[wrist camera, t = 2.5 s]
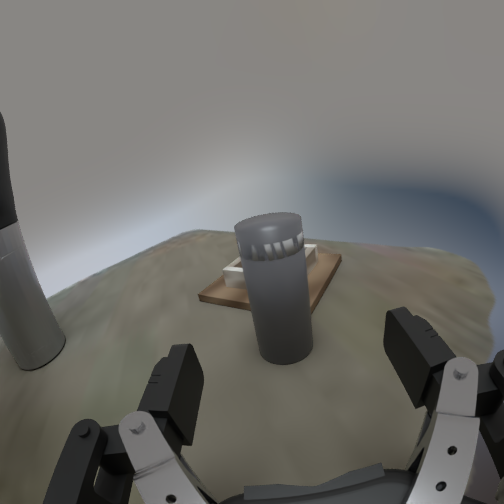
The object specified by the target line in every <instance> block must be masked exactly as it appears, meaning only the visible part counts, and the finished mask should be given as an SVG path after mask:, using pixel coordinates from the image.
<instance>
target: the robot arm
mask: <svg viewBox="0 0 504 504" xmlns="http://www.w3.org/2000/svg"><path fill="white" fill-rule="evenodd" d="M17 221H18V219H17V215H16V210H15V204H14V197H13V192H12V187H11V181H10V174H9V163H8V149H7V137H6V128H5V123H4V119H3V117H2V114H1V112H0V335H1V337H2V339H3V340H4V342H5V344H6V346H7V348H8V349H9V351H10V353H11V354H12V356H13V357H14V359H15V360H16V362H17V364H18V365H19V366H20V367H21V368H22V369H25V370H31V369H35V368H38V367H40V366H42V365H44V364H46V363H47V362H49V361H50V360H52V359H53V358H54V357H55V356H56V355H57V354H58V353H59V352H60V350H61V349H62V347H63V345H64V342H65V337H64V334H63V333H62V331H61V329H60V327H59V325H58V323H57V321H56V319H55V317H54V315H53V313H52V311H51V308H50V306H49V304H48V302H47V300H46V298H45V295H44V293H43V291H42V289H41V286H40V284H39V281H38V279H37V276H36V274H35V271H34V268H33V266H32V263H31V260H30V257H29V255H28V252H27V249H26V246H25V243H24V240H23V236H22V233H21V230H20V226H19V223H18V222H17ZM383 342H384V349H385V352H386V354H387V356H388V358H389V360H390V361H391V363H392V365H393V367H394V369H395V371H396V372H397V374H398V376H399V378H400V380H401V382H402V384H403V385H404V387H405V389H406V391H407V393H408V395H409V397H410V399H411V401H412V403H413V405H414V407H415V409H417V408H419V407H422V406H424V405H425V406H426V408H427V411H426V414H425V417H424V421H423V424H422V427H421V430H420V434H419V437H418V439H417V442H416V445H415V448H414V451H413V453H412V455H411V457H410V459H409V461H408V463H407V465H406V467H405V470H401V469H383V467H382V463H378V464H375V465H372V466H369V467H365V468H362V469H358V470H354V471H350V472H348V473H346V474H344V475H341V476H339V477H337V478H335V479H332V480H330V481H328V482H325V483H323V484H321V485H318V486H312V487H311V486H294V485H283V484H273V485H260V486H244V493H242V494H239V495H236V496H233V497H230V498H228V499H226V500H224V501H222V502H220V503H219V502H218V501H217V500H216V498H215V497H214V496H213V495H212V494H211V493H210V492H209V491H208V490H207V488H206V487H205V486H204V485H203V483H202V482H201V481H200V479H199V478H198V477H197V475H196V474H195V473H194V471H193V470H192V468H191V467H190V466H189V464H188V463H187V461H186V460H185V458H184V457H183V455H182V454H181V453H180V452H181V448H182V445H186V446H192V442H193V437H194V431H195V426H196V421H197V415H198V410H199V405H200V400H201V395H202V390H203V385H204V375H203V371H202V368H201V365H200V363H199V361H198V358H197V356H196V353H195V351H194V348H193V346H192V345H191V344H179V345H172V347H171V349H170V352H169V355H168V357H163V358H162V359H161V360H160V361H159V362H158V363H157V364H156V365H155V367H154V369H153V372H152V374H151V377H150V379H149V381H148V384H147V386H146V389H145V391H144V394H143V396H142V399H141V401H140V404H139V407H138V409H137V411H136V412H132V413H130V414H128V415H126V416H125V417H124V418H123V419H122V420H121V422H120V424H119V425H114V426H107V427H100V425H99V424H98V423H97V422H96V421H94V420H92V419H84V420H81V421H79V422H78V423H76V424H75V425H74V426H73V428H72V430H71V432H70V434H69V436H68V439H67V441H66V443H65V446H64V448H63V450H62V453H61V455H60V458H59V460H58V463H57V465H56V468H55V470H54V473H53V476H52V478H51V481H50V484H49V487H48V490H47V492H46V495H45V498H44V501H43V504H128V502H129V497H130V492H131V487H132V482H133V479H134V482H135V484H136V486H137V488H138V490H139V492H140V494H141V496H142V498H143V500H144V502H145V504H486V503H483V502H481V501H478V500H475V499H472V498H470V497H467V496H465V495H464V491H465V488H466V485H467V482H468V478H469V474H470V471H471V467H472V462H473V458H474V453H475V449H476V443H477V438H478V432H479V430H480V432H481V434H482V437H483V439H484V441H485V443H486V445H487V447H488V450H489V452H490V454H491V457H492V459H493V461H494V464H495V466H496V469H497V471H498V474H499V477H500V479H501V481H500V483H499V486H498V491H497V492H496V495H495V499H496V500H497V501H498V504H504V403H503V401H504V350H502V351H500V352H498V353H497V354H496V356H495V358H494V361H493V362H492V363H486V364H481V365H476V364H475V363H474V362H473V361H472V360H470V359H468V358H464V357H456V356H455V354H454V353H453V352H452V350H451V349H450V348H449V347H448V345H447V344H446V343H445V342H444V341H443V339H442V338H441V337H440V336H438V333H437V332H436V331H435V330H433V327H432V326H431V325H430V324H429V323H428V322H427V320H425V319H423V318H421V317H419V316H418V315H415V316H413V315H412V314H411V313H410V312H409V311H408V309H407V308H406V307H400V308H396V309H393V310H389V311H387V313H386V321H385V331H384V340H383ZM99 466H100V469H99V472H98V476H97V479H96V482H95V486H93V485H94V480H95V477H96V473H97V470H98V467H99ZM134 473H136V474H134Z"/></svg>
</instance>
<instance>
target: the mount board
mask: <svg viewBox="0 0 504 504" xmlns="http://www.w3.org/2000/svg"><path fill="white" fill-rule="evenodd" d="M304 246H305V256H306V265H307V276H308V287H309V298H310V311H311V314H312V312H313V310H314V309H315V307H316V305H317V304H318V302H319V300H320V298H321V297H322V295H323V293H324V291H325V290H326V288H327V286H328V284H329V283H330V281H331V279H332V277H333V275H334V273H335V272H336V270H337V268H338V266H339V264H340V262H341V254H323V253H318V251H317V245H309V244H304ZM198 296H199V299H200V301H204V302H209V303H214V304H219V305H224V306H229V307H234V308H240V309H245V310H251V307H250V303H249V298H248V293H247V288H246V283H245V278H244V274H243V269H242V264H241V259H240V257H239V258H237V259H236V260H235V261H233V262H232V263H231V264H229V265H228V266H227V267H225V268H224V269H223V275H222V276H221V277H220V278H218V279H217V280H216V281H214V282H213V283H212V284H211V285H209V286H208V287H207V288H205V289H204V290H203V291H202V292H200V293H199V294H198Z"/></svg>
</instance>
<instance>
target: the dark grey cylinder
mask: <svg viewBox="0 0 504 504" xmlns="http://www.w3.org/2000/svg"><path fill="white" fill-rule="evenodd" d="M234 229H235V234H236V239H237V244H238V249H239V254H240V259H241V264H242V269H243V274H244V278H245V283H246V288H247V293H248V298H249V303H250V307H251V312H252V317H253V322H254V326H255V331H256V336H257V340H258V345H259V350H260V354H261V356H262V357H263V358H264V359H265V360H267V361H268V362H270V363H273V364H279V365H286V364H292V363H296V362H298V361H300V360H302V359H304V358H305V357H306V356H308V354H309V353H310V352H311V350H312V347H313V340H312V325H311V311H310V298H309V287H308V276H307V265H306V256H305V246H304V238H303V229H302V221H301V216H300V215H298V214H294V213H283V212H282V213H269V214H263V215H258V216H254V217H251V218H248V219H245V220H243V221H241V222H239V223H237V224H236V225H235V227H234Z"/></svg>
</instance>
